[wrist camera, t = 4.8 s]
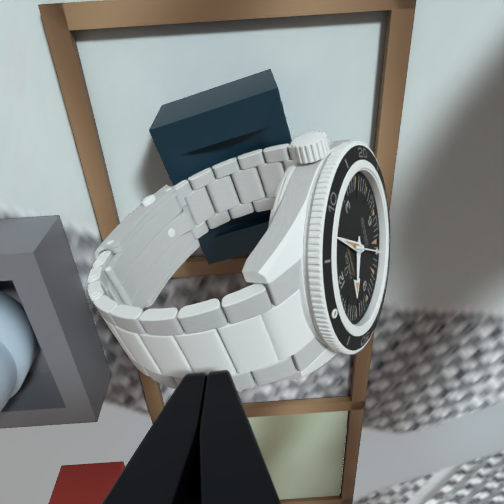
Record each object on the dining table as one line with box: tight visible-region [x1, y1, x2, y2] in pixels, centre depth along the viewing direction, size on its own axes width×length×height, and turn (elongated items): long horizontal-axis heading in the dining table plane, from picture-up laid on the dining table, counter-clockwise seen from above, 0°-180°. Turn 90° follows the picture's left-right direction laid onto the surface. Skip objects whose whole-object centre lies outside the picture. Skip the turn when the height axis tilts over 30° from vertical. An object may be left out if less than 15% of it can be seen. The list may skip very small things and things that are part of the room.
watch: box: [88, 69, 390, 391], centre depth 13 cm, size 6×8×11 cm
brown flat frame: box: [38, 0, 416, 504], centre depth 23 cm, size 13×32×1 cm, turn 3°
